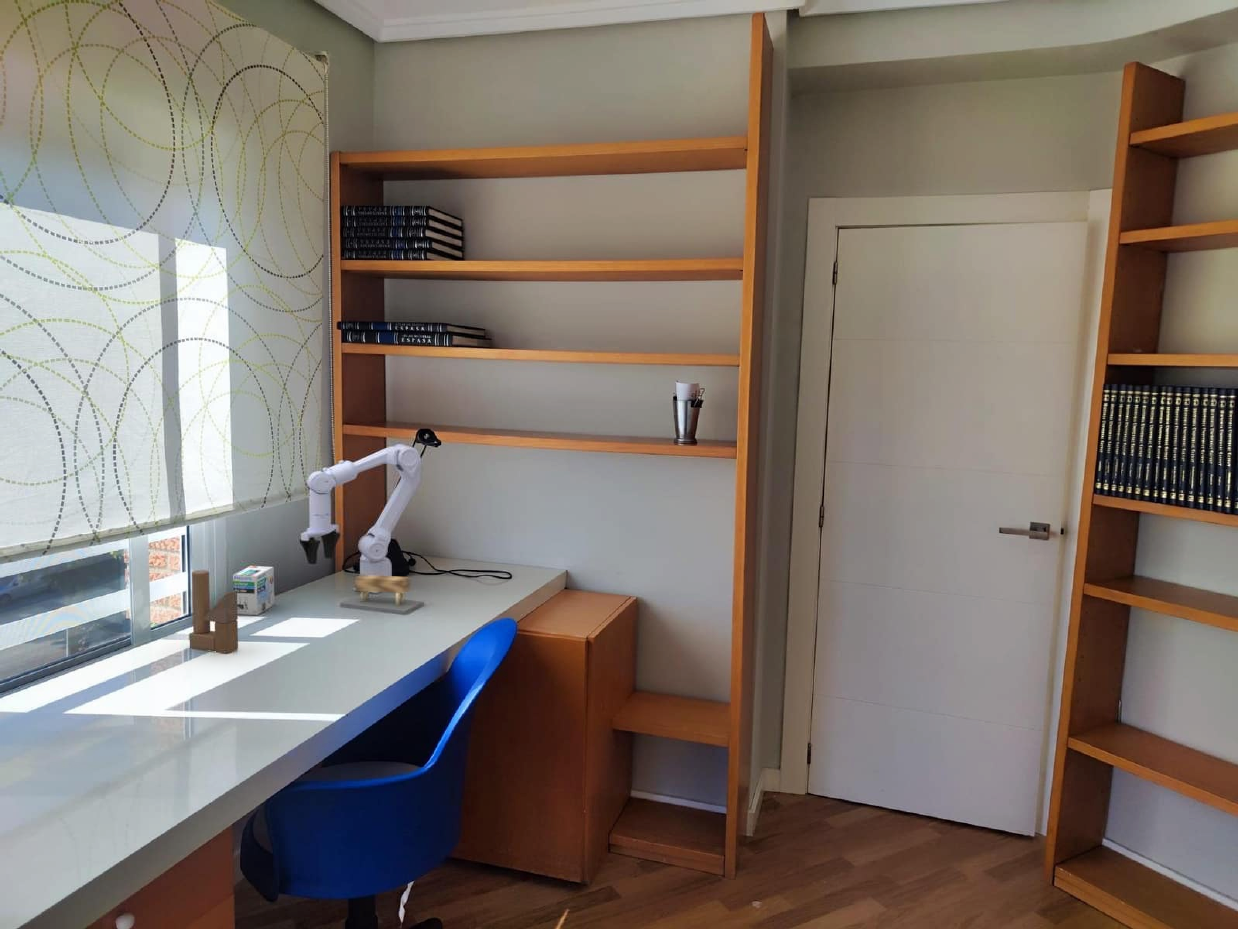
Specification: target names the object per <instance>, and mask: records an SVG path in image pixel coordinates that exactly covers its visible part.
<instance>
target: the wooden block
mask: <svg viewBox="0 0 1238 929" xmlns="http://www.w3.org/2000/svg"><path fill="white" fill-rule="evenodd" d="M191 586H192V587H191V588H192V592H191V594H192V596H191V597H192V623H193V624H192V626H193V631H192V632H190V633H189V648H190V649H195V648H196V650H202V651H207V650H210V651H209V652H213V651H216V653H218V652H220V653H219V654H224V655H225V654H227V655H228V654H230V652H231V653H233V652H235V651H238V650H239V635H238V633H239V632H238V631H239V630H238V629H239V628H238V627H239V625H238V624H239V623H238V618H239V617H238V615H239V614H237V590H235V591H233V590H232V591H229V592H227V593H224V595H223V596H222V597H221V598H220V599H219V600H218V601H217V603H216V604H214V605H213V607H212V608H211V598H210V597H211V596H210V594H211V593H210V592H211V590H210V571H209V570H206V569H199V570H194V571H192V572H191ZM211 622H213V623H214V630H211ZM234 650H235V651H234ZM232 651H233V652H232Z"/></svg>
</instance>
